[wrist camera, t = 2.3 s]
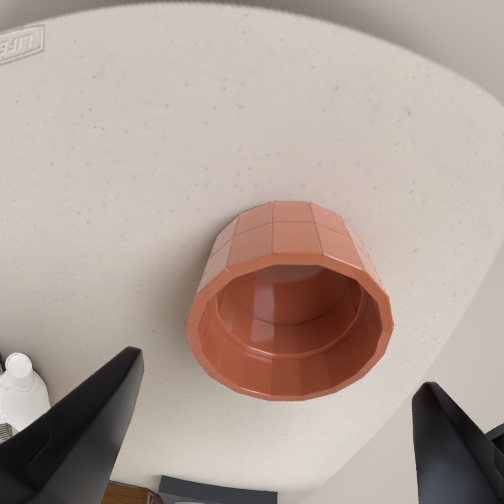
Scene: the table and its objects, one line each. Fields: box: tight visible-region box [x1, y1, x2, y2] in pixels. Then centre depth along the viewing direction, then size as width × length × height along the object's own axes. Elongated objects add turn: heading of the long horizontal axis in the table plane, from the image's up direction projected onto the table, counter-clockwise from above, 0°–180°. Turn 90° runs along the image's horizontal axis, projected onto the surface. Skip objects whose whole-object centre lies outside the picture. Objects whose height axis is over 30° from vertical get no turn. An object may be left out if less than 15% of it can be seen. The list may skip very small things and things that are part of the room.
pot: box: [186, 201, 394, 401], centre depth 12 cm, size 7×7×4 cm
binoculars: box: [0, 353, 51, 431], centre depth 20 cm, size 10×16×5 cm, turn 155°
